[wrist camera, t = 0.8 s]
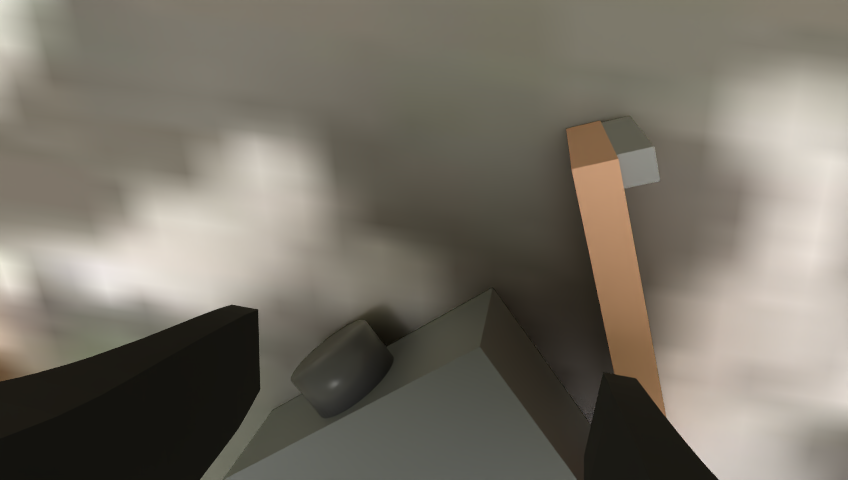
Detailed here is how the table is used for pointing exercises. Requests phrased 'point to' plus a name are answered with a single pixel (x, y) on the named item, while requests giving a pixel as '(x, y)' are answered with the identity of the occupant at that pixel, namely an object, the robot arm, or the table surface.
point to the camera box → (424, 407)
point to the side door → (616, 237)
